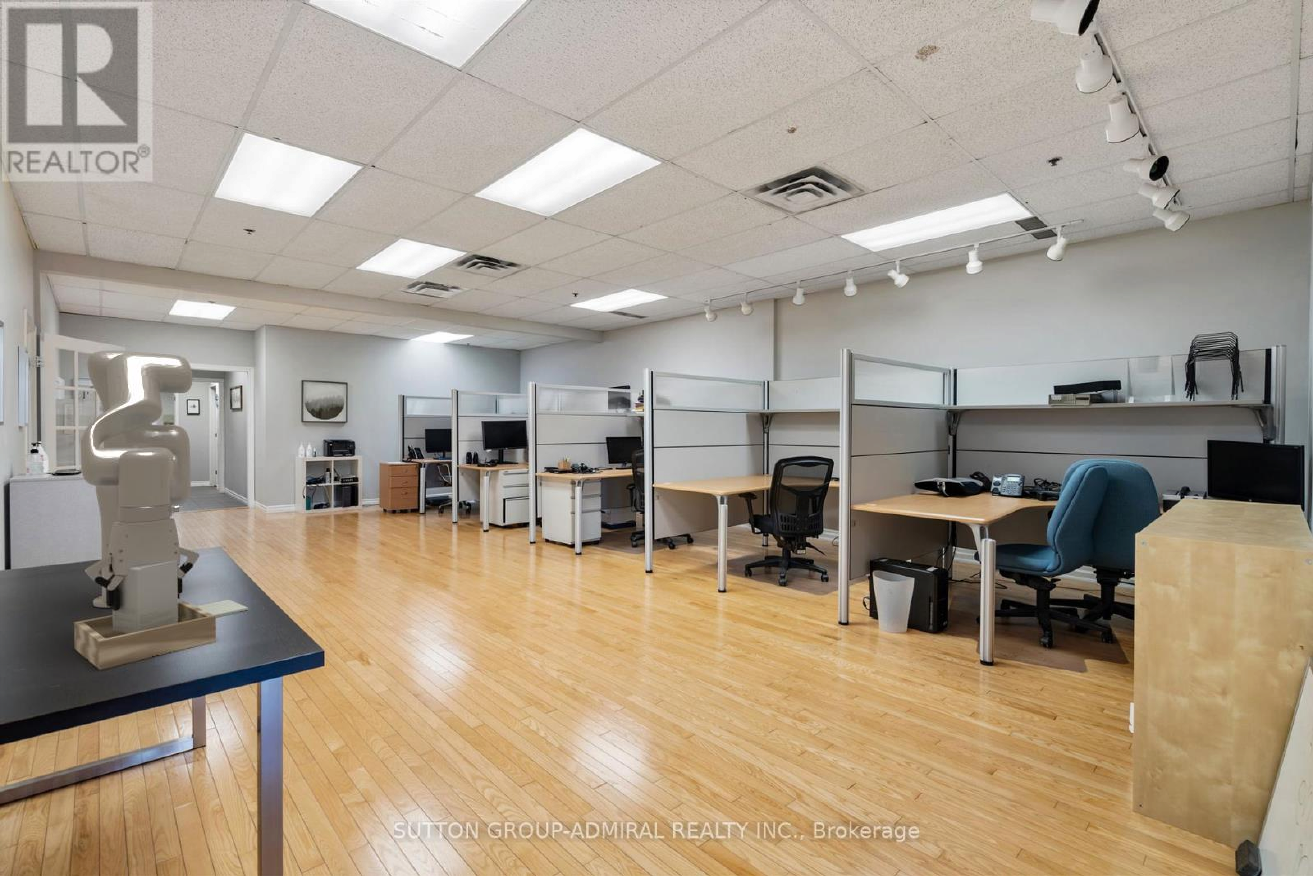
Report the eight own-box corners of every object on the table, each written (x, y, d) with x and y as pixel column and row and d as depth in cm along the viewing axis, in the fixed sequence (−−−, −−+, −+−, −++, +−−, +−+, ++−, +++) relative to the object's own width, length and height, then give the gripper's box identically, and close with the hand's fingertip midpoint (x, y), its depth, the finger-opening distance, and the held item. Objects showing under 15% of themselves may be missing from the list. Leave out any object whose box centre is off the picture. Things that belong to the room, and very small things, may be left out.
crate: (74, 648, 112) (74, 622, 112) (184, 624, 126) (184, 601, 126) (99, 670, 103) (99, 641, 102) (215, 641, 116) (215, 616, 116)
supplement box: (179, 623, 117) (179, 560, 117) (136, 636, 110) (135, 569, 110) (154, 618, 120) (154, 556, 119) (110, 630, 112) (110, 565, 112)
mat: (171, 613, 133) (171, 611, 133) (228, 602, 142) (228, 599, 142) (190, 623, 127) (189, 620, 127) (248, 610, 136) (248, 607, 136)
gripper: (192, 507, 123) (192, 589, 124) (78, 517, 109) (79, 610, 110) (206, 511, 119) (206, 596, 120) (89, 522, 105) (90, 619, 105)
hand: (145, 603), depth 115 cm, fingers closed on supplement box, 8 cm apart
